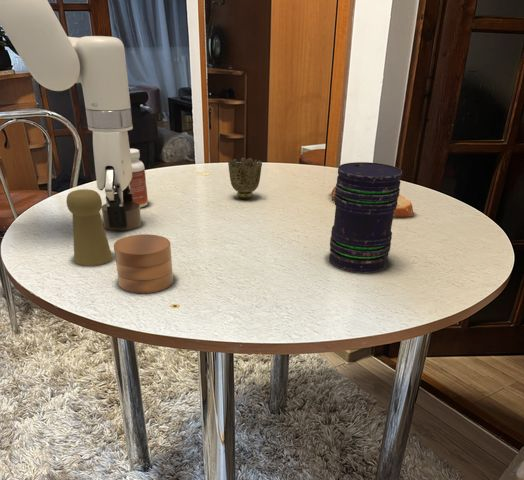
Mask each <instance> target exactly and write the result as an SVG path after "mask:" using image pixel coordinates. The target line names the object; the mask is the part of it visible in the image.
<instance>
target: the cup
mask: <svg viewBox="0 0 524 480" xmlns="http://www.w3.org/2000/svg"><path fill="white" fill-rule="evenodd" d="M227 165H228V174H229V180H230V184H231V187H232V188H233V190H234V191H236V197H237V198H238V199H239V200H245V201H246V200H250V199H252V198H253V196H254V193H253V192H254V191H256V190H257V189H258V187H259V184H260V181H261V175H262V174H261V173H262V168H263V167H262V166H263V162H262V161H261V160H260V159H259V160H258V159H254V160H253V159H252V158H251V157H249V158H244V157H242V158H241V159H240V161H237V159H236V158H233V160H232V159H229V161H227Z"/></svg>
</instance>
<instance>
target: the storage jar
mask: <svg viewBox="0 0 524 480" xmlns="http://www.w3.org/2000/svg"><path fill="white" fill-rule="evenodd" d="M337 174H338V175H337V176H336V183H335V186H336V188H335V193H336V194H335V198H334V199H333V201H334V205H335V209H334V220H333V225H332V227H331V231H330V232H331V233H330V239H329V252H330V254H329V255H328V262H329V263H330V264H331V265H332V266H333V267H335V268H337V269H339V270H342V271H345V272H350V273H357V274H371V273H377V272H380V271H382V270H384V269H385V268H387V265H388V257H389V254H390V251H391V246H392V239H393V237H392V236H393V232H392V226H393V220H394V217H393V215H394V210H395V209H396V207H397V204H398V203H397V201H398V197H399V194H400V191H401V179H402V175H403V170H402V169H401V168H398V167H397V166H393V165H390V164H386V163H378V162H370V161H369V162H368V161H357V162H355V161H354V162H346V163H342V164H339V166H337Z"/></svg>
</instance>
